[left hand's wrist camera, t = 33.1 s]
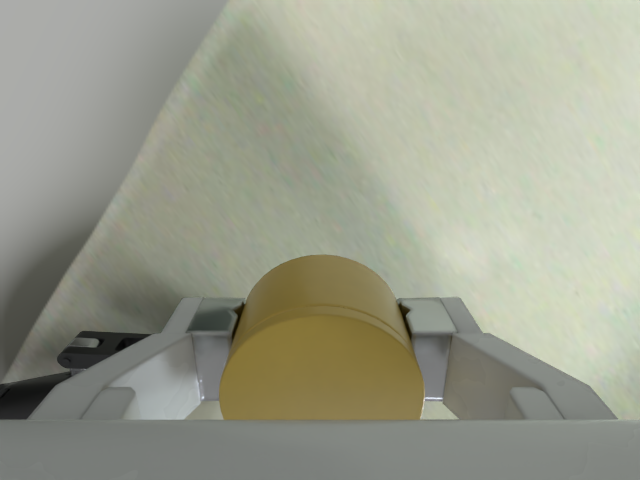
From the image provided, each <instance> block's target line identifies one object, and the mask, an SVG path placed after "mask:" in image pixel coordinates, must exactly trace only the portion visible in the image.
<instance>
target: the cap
mask: <svg viewBox="0 0 640 480" xmlns="http://www.w3.org/2000/svg"><path fill="white" fill-rule="evenodd" d="M424 402H425V387H424V380H423V377H422V373H421V370H420V367H419V364H418V361H417V358H416V355H415V352H414V349H413V346H412V343H411V340H410V337H409V335H408V332H407V329H406V326H405V323H404V320H403V317H402V314H401V311H400V308H399V305H398V302H397V300H396V298H395V295H394V294H393V292H392V290H391V289H390V287H389V286H388V285H387V283H386V282H385V281H384V280H383V279H382V278H381V277H380V276H379V275H378V274H376V273H375V272H374V271H372V270H371V269H369V268H368V267H366V266H364V265H362V264H360V263H358V262H356V261H353V260H350V259H347V258H344V257H340V256H333V255H310V256H304V257H300V258H296V259H293V260H290V261H287V262H285V263H283V264H280V265H279V266H277V267H275V268H274V269H272V270H271V271H269V272H268V273H267V274H265V275H264V276H263V277H262V278H261V279H260V280H259V281H258V282H257V283H256V285H255V286H254V288H253V289H252V290H251V292H250V294H249V296H248V298H247V300H246V303H245V306H244V309H243V312H242V315H241V318H240V321H239V324H238V327H237V330H236V333H235V336H234V339H233V342H232V345H231V348H230V351H229V354H228V358H227V361H226V364H225V367H224V370H223V373H222V376H221V380H220V385H219V404H220V410H221V413H222V416H223V419H224V420H420V418H421V416H422V412H423V408H424Z"/></svg>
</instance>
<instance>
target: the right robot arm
mask: <svg viewBox="0 0 640 480" xmlns="http://www.w3.org/2000/svg"><path fill="white" fill-rule="evenodd" d="M150 335H152V334H133V333H113V332H93V331H82V332H80V333H79V334H78V335H77V336H76V337H75V338H74V339H73V340H72V341H71V342H70V343H69V344H68V345H67V346H66V347H65V349H64V350H63V351H62V352H61V353H60V354H59V356H58V358H57V360H58V363H59V364H60V365H61V366H63V367H65V368H70V372H65V373H59V374H54V375H49V376H44V377H38V378H33V379H28V380H23V381H18V382H13V383H7V384H0V420H26V419H27V418H28V417H29V416H30V415H31V414H32V412H33V411H34V410H35V409H36V408H37V407H38V405H39V404H40V403H41V402H42V401H43V400H44V398H45V397H46V396H47V395H48V394H49V393H50V391H51V390H52V389H53V388H54V387H55V386H56V385H57V384H59V383H61V382H63V381H65V380H67V379H69V378H71V377H72V376H74V375H76V374H78V373H80V372H82V371H84V370H86V369H88V368H89V367H91V366H93V365H95V364H97V363H99V362H101V361H103V360H105V359H107V358H108V357H110V356H112V355H114V354H116V353H118V352H120V351H122V350H124V349H125V348H127V347H129V346H131V345H133V344H135V343H137V342H139V341H141V340H142V339H144V338H146V337H148V336H150Z"/></svg>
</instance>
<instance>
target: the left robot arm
mask: <svg viewBox="0 0 640 480" xmlns="http://www.w3.org/2000/svg"><path fill="white" fill-rule="evenodd" d="M397 302H398V305H399V308H400V311H401V314H402V317H403V320H404V323H405V326H406V329H407V332H408V335H409V337H410V340H411V343H412V346H413V349H414V352H415V355H416V358H417V361H418V364H419V367H420V370H421V373H422V377H423V380H424V387H425V401H443V404H444V405H445V406H446V407H447V408H448V409H449V410H450V411H452V412H453V413H454V414H455V415H456V416H457V417H458V418H459V419H460V420H184V419H185V418H186V417H187V416H188V415H189V414H190V413H191V412H192V411H193V410H194V409H195V408H196V407H197V406H198V405H199V404H201V402H200V401H219V385H220V380H221V376H222V373H223V370H224V367H225V364H226V361H227V358H228V354H229V351H230V348H231V345H232V342H233V339H234V336H235V333H236V330H237V327H238V324H239V321H240V318H241V315H242V312H243V309H244V306H245V303H246V299H245V298H213V297H206V298H204V297H185V298H182V299H181V301H180V303H179V304H178V306H177V307H176V309H175V311H174V312H173V314H172V316H171V317H170V319H169V320H168V322H167V324H166V325H165V327H164V328H163V330H162V332H161V333H154V334H152V335H150V336H148V337H146V338H144V339H142V340H141V341H139V342H137V343H135V344H133V345H131V346H129V347H127V348H125V349H124V350H122V351H120V352H118V353H116V354H114V355H112V356H110V357H108V358H107V359H105V360H103V361H101V362H99V363H97V364H95V365H93V366H91V367H89V368H88V369H86V370H84V371H82V372H80V373H78V374H76V375H74V376H72V377H71V378H69V379H67V380H65V381H63V382H61V383H59V384H57V385H56V386H55V387H54V388H53V389H52V390H51V391H50V393H49V394H48V395H47V396H46V397H45V398H44V400H43V401H42V402H41V403H40V404H39V405H38V407H37V408H36V409H35V410H34V411H33V412H32V414H31V415H30V416H29V417H28V418H27V419H26V420H0V480H640V420H619V419H618V418H617V417H616V416H615V415H614V414H613V412H612V411H611V410H610V409H609V408H608V407H607V405H606V404H605V403H604V402H603V401H602V400H601V399H600V397H599V396H598V395H597V394H596V393H595V392H594V390H593V389H592V388H591V387H590V386H589V385H587V384H585V383H583V382H581V381H579V380H577V379H575V378H573V377H572V376H570V375H568V374H566V373H564V372H562V371H560V370H558V369H556V368H554V367H553V366H551V365H549V364H547V363H545V362H543V361H541V360H539V359H537V358H535V357H534V356H532V355H530V354H528V353H526V352H524V351H522V350H520V349H518V348H516V347H515V346H513V345H511V344H509V343H507V342H505V341H503V340H501V339H499V338H497V337H496V336H494V335H492V334H490V333H483V332H482V331H481V329H480V328H479V326H478V325H477V323H476V321H475V320H474V318H473V317H472V315H471V314H470V312H469V311H468V309H467V307H466V306H465V304H464V303H463V301H462V300H461V298H459V297H442V298H439V297H435V298H399V299H397Z"/></svg>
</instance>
